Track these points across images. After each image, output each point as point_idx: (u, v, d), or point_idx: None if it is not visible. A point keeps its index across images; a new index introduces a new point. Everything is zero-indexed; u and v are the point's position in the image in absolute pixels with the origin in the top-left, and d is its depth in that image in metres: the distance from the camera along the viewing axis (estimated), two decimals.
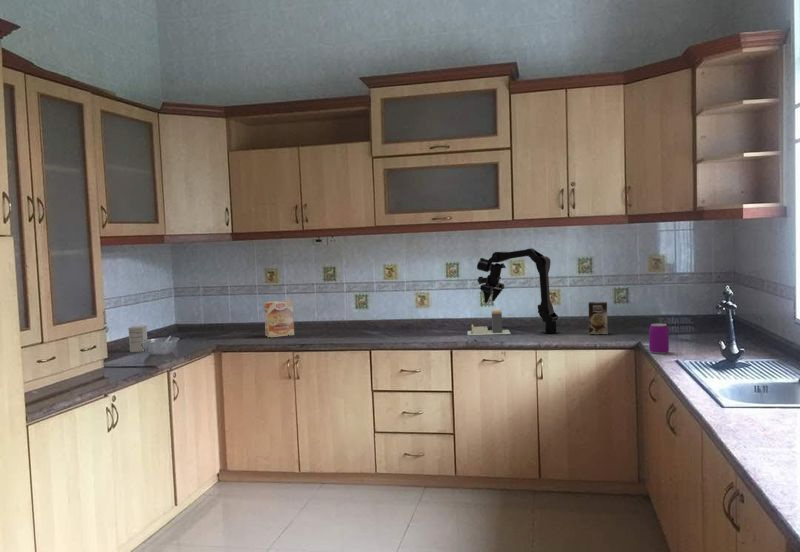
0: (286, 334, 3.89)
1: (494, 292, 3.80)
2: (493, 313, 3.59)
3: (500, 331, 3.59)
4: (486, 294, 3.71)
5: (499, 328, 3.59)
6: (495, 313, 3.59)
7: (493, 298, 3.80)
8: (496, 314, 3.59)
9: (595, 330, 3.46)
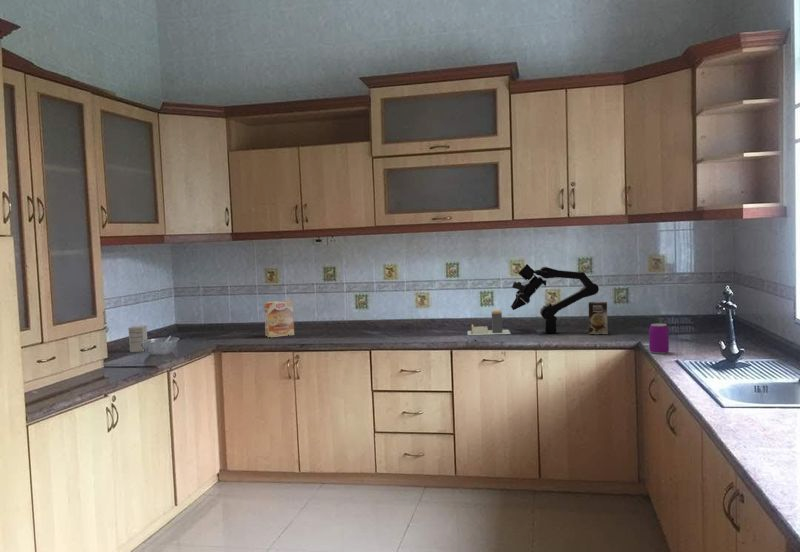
0: (286, 334, 3.89)
1: None
2: (493, 313, 3.59)
3: (500, 331, 3.59)
4: (519, 302, 3.54)
5: (499, 328, 3.59)
6: (495, 313, 3.59)
7: (513, 305, 3.64)
8: (496, 314, 3.59)
9: (595, 330, 3.46)
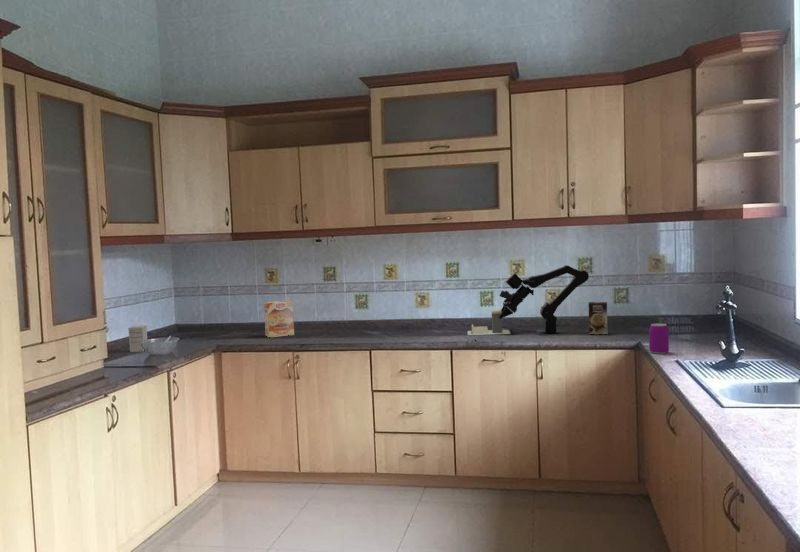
0: (286, 334, 3.89)
1: (504, 308, 3.65)
2: (493, 313, 3.59)
3: (500, 331, 3.59)
4: (506, 311, 3.55)
5: (499, 328, 3.59)
6: (495, 313, 3.59)
7: None
8: (496, 314, 3.59)
9: (595, 330, 3.46)
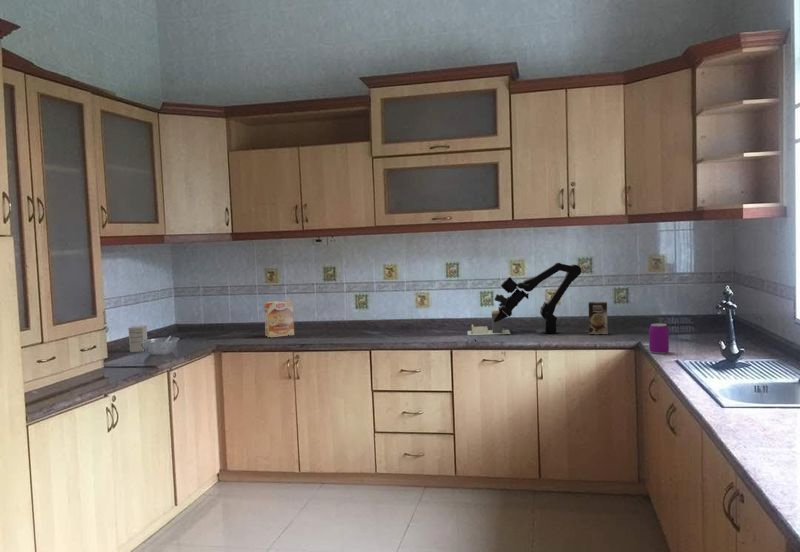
0: (286, 334, 3.89)
1: None
2: (493, 313, 3.59)
3: (500, 331, 3.59)
4: (500, 315, 3.57)
5: (499, 328, 3.59)
6: (495, 313, 3.59)
7: None
8: (496, 314, 3.59)
9: (595, 330, 3.46)
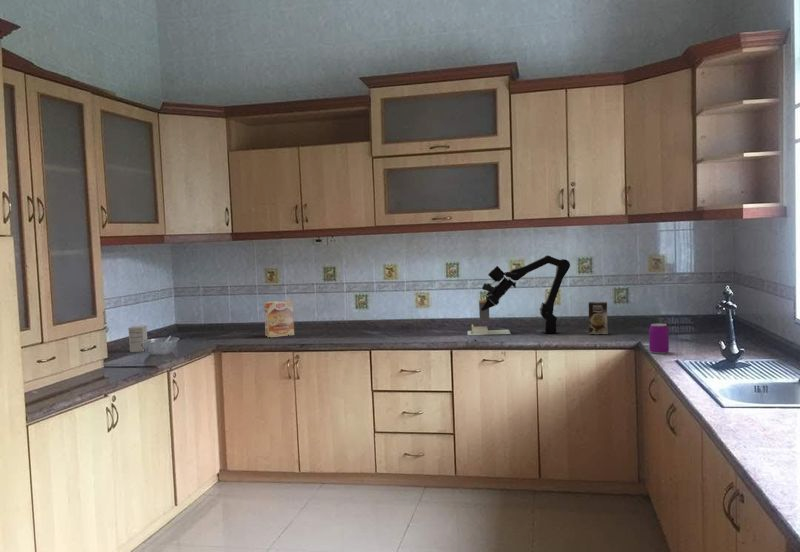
0: (286, 334, 3.89)
1: None
2: (480, 302, 3.59)
3: (487, 320, 3.59)
4: (488, 303, 3.57)
5: (487, 317, 3.59)
6: (482, 302, 3.59)
7: None
8: (483, 303, 3.59)
9: (595, 330, 3.46)
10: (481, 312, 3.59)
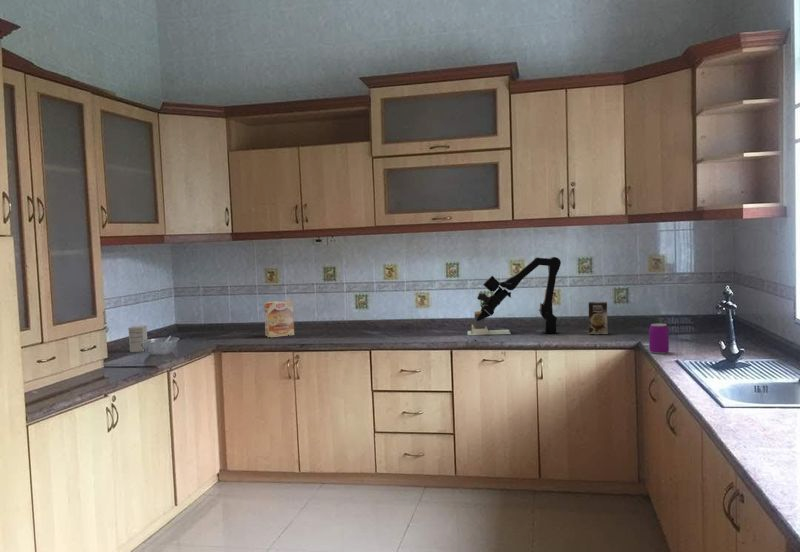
0: (286, 334, 3.89)
1: None
2: (476, 314, 3.60)
3: None
4: (483, 314, 3.57)
5: None
6: (478, 314, 3.60)
7: None
8: (478, 315, 3.60)
9: (595, 330, 3.46)
10: (476, 324, 3.60)
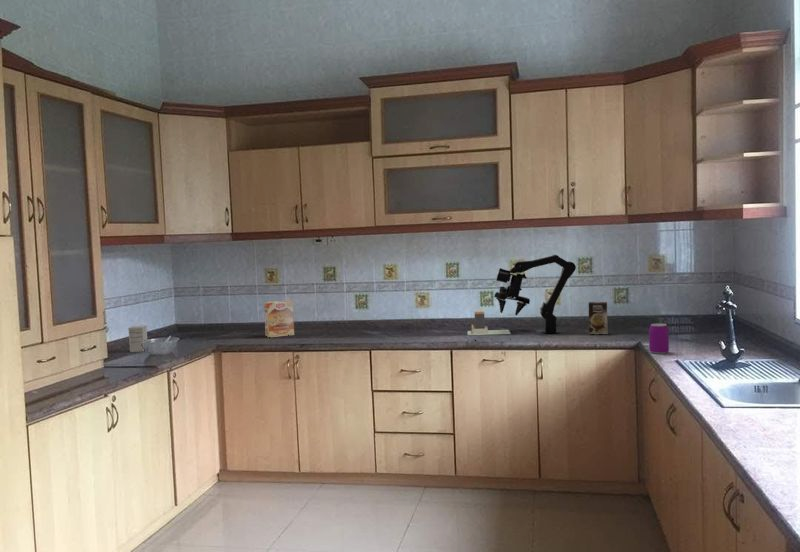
0: (286, 334, 3.89)
1: (518, 306, 3.63)
2: (476, 314, 3.60)
3: None
4: (501, 303, 3.58)
5: None
6: (478, 314, 3.60)
7: (516, 312, 3.63)
8: (478, 315, 3.60)
9: (595, 330, 3.46)
10: (476, 324, 3.60)
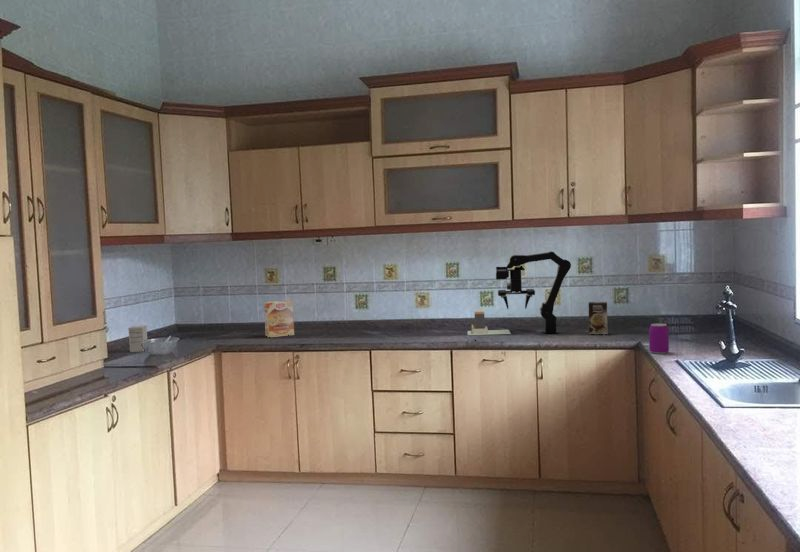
0: (286, 334, 3.89)
1: None
2: (476, 314, 3.60)
3: None
4: None
5: None
6: (478, 314, 3.60)
7: (525, 305, 3.60)
8: (478, 315, 3.60)
9: (595, 330, 3.46)
10: (476, 324, 3.60)
